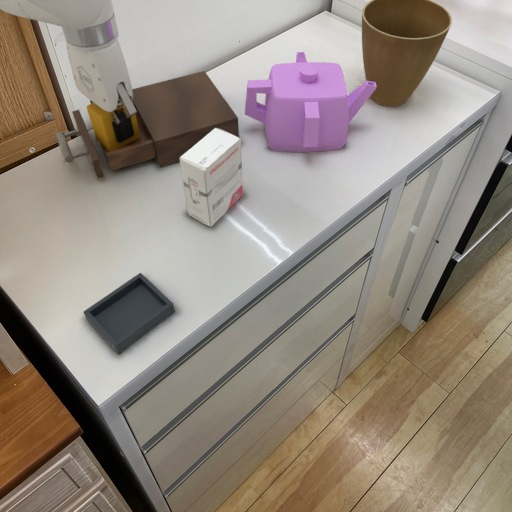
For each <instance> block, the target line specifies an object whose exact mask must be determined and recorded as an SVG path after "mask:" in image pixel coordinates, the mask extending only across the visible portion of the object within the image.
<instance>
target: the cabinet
mask: <svg viewBox="0 0 512 512" xmlns="http://www.w3.org/2000/svg"><path fill="white" fill-rule="evenodd" d="M132 92H133V100H132V102H133V104H134V106H135V108H136V110H137V111H138V113H139V115H140V117H141V119H142V121H143V123H144V125H145V126H146V128H147V130H148V132H149V134H150V136H151V138H152V140H153V142H154V145H155V151H156V156H157V157H156V158H154V159H155V162H156V164H157V165H158V167H159V168H164V167H167V166H170V165H173V164H177V163H180V157H181V156H182V155H183V154H185V153H186V152H187V151H188V150H189V149H191V148H192V147H193V146H194V145H195V144H197V143H198V142H199V141H200V140H201V139H203V138H204V137H205V136H206V135H207V134H209V133H210V132H211V131H212V130H213V129H215V128H218V129H221V130H223V131H226V132H228V133H230V134H232V135H234V136H236V137H238V138H240V132H239V117H238V115H237V114H236V113H235V111H234V110H233V108H232V107H231V105H230V104H229V103H228V102H227V100H226V99H225V98H224V96H223V94H221V92H220V91H219V89H218V88H217V87H216V85H215V84H214V82H213V80H212V78H210V76H209V75H208V74H207V72H206V71H205V70H202V71H198V72H194V73H191V74H187V75H183V76H179V77H175V78H171V79H166V80H162V81H159V82H155V83H152V84H148V85H144V86H139V87H135V88H132Z"/></svg>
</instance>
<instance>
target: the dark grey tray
mask: <svg viewBox="0 0 512 512" xmlns="http://www.w3.org/2000/svg"><path fill="white" fill-rule="evenodd" d="M174 313H176V310H175V305H174V303H173V302H172V301H171V300H170V299H169V298H168V297H167V296H166V295H165V294H164V293H163V292H162V291H160V289H159V288H157V287H156V286H155V285H154V284H153V283H152V281H151V280H149V279H148V278H147V277H146V276H145V275H144V274H142V272H139V273H138V274H136V275H134V276H133V277H131V278H130V279H129V280H127V281H126V282H125V283H123V284H121V285H120V286H119V287H117V288H116V289H114V290H112V291H111V292H110V293H108V294H107V295H106V296H104V297H103V298H101V299H100V300H98V301H97V302H95V303H94V304H92V305H91V306H90V307H88V308H86V309H85V310H83V315H84V317H85V319H86V321H87V322H88V323H89V324H90V326H92V328H94V330H96V332H97V333H98V334H99V335H100V336H101V337H102V339H103V340H104V341H105V342H106V343H107V344H108V345H109V346H110V347H111V348H112V350H114V352H115V353H116V354H117V355H119V354H121V353H122V352H123V351H125V350H126V349H128V348H129V347H130V346H131V345H133V344H134V343H135V342H137V341H139V340H140V339H141V338H142V337H143V336H145V335H146V334H147V333H150V331H151V330H153V329H154V328H155V327H157V326H158V325H159V324H160V323H162V322H163V321H165V320H167V319H168V318H169V317H170V316H171V315H173V314H174Z"/></svg>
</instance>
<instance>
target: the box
mask: <svg viewBox="0 0 512 512" xmlns="http://www.w3.org/2000/svg"><path fill="white" fill-rule="evenodd" d="M118 100H119V99H118ZM132 103H133V102H132ZM86 110H87V113H89V114H88V117H89V121H90V124H91V126H92V131H93V133H94V137H95V139H96V142H97V143H99V145H100V144H101V145H103V146H104V147H105V148H106V149H107V150H109V151H113V150H116V149H119V148H121V147H123V146H125V145H127V144H128V143H130V142H132V141H134V140H136V139H138V138H139V137H140V133H139V128H138V124H137V119H136V114H135V115H133V116H132V117H131V121H132V126H133V130H134V136H132V137H130V138H129V139H127V140H125V141H123V142H121V143H119V142H117V140H116V136H115V132H114V129H113V125H112V122H114V120H113V117H112V114H111V112H107V111H105V110H103V109H102V108H100V107H99V106H98V105H96V104H95V103H92V104H91V103H90V104H88V105H86ZM116 111H117V113H118V114H119V113H120V112H122V111H124V110H123V107H122V106H120V107H118V108H116ZM101 145H100V146H101Z"/></svg>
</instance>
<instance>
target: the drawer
mask: <svg viewBox="0 0 512 512" xmlns="http://www.w3.org/2000/svg"><path fill="white" fill-rule="evenodd" d="M133 105H134V104H133ZM134 107H135V106H134ZM135 109H136V108H135ZM136 111H137V110H136ZM71 113H72V115H73V118H74V122H75V125H76V129H75V130H70V131H67V132H64V131H57V132H56V134H55V137H56V140H57V143H58V146H59V149H60V152H61V155H62V158H63V160H64V162H65V163H67V164H70V163H72V162H73V161H74V160H75V159H78V158H81V157H85V156H88V158H89V161H90V163H91V166H92V168H93V171H94V173H95V176H96V179H97V180H100V179H104V178H106V176H105V171H104V169H103V166H102V163H101V159H100V156H99V154H98V152H97V150H96V147H95V145H94V142H93V140H92V137H91V135H90V133H89V131H88V128H87V126H86V123H85V120H84V118H83V116H82V113H81V111H80V109H75V110H73V111H72V112H71ZM87 113H88V112H87ZM88 115H89V113H88ZM136 119H137V124H138V128H139V133H140V137H139V138H138V139H136V140H134V141H132V142H130V143H128V144H127V145H125V146H123V147H121V148H119V149H116V150H113V151H109V150H107V149H106V148H105V147H104V146H103V145H101V144H100V143H99V146H100V149H101V150H102V153H103V155H104V158H105V159H106V162H107V164H108V167H109V169H110V171H115V170H118V169H123V168H125V167H128V166H133V165H135V164H139V163H142V162H145V161H150V160H153V159H155V158H156V157H157V156H156V151H155V145H154V142H153V140H152V138H151V136H150V134H149V132H148V130H147V128H146V126H145V125H144V123H143V121H142V119H141V117H140V115H139V113H138V111H137V114H136ZM76 135H79V136H80V138H81V141H82V143H83V146H84V150H82V151H78V152H74V153H72V151H71V148H70V146H69V142H68V140H67V138H70V137H73V136H76Z"/></svg>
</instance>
